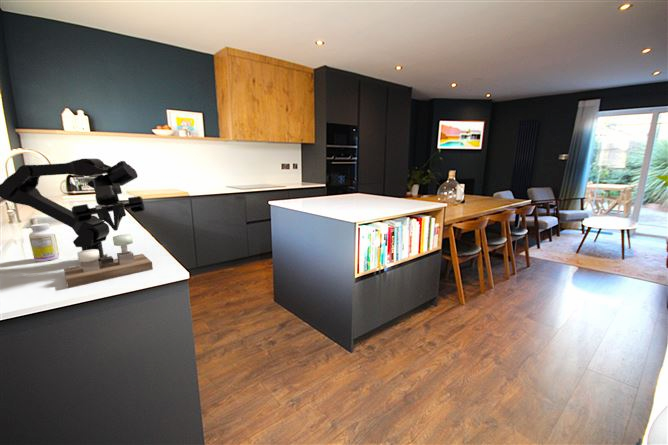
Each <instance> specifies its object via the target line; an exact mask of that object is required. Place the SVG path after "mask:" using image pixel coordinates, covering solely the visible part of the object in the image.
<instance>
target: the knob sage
mask: <svg viewBox="0 0 668 445" xmlns="http://www.w3.org/2000/svg"><path fill="white" fill-rule="evenodd" d="M112 240H113V246H115V247H120V249H121V253H122V254H126V253H128V245H131V244H133V242H134V241H133V235H132V234H119V235H114V236H112Z"/></svg>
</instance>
